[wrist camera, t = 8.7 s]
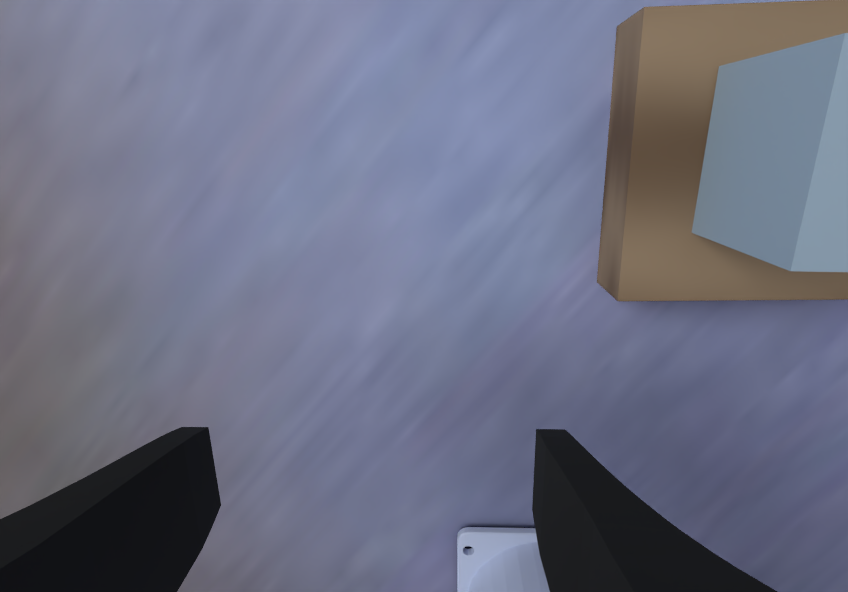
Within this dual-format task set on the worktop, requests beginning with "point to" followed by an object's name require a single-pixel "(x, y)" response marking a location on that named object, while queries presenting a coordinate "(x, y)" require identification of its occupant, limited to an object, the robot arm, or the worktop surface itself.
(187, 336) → the worktop surface
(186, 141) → the worktop surface
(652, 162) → the walnut slab
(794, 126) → the slate cube
